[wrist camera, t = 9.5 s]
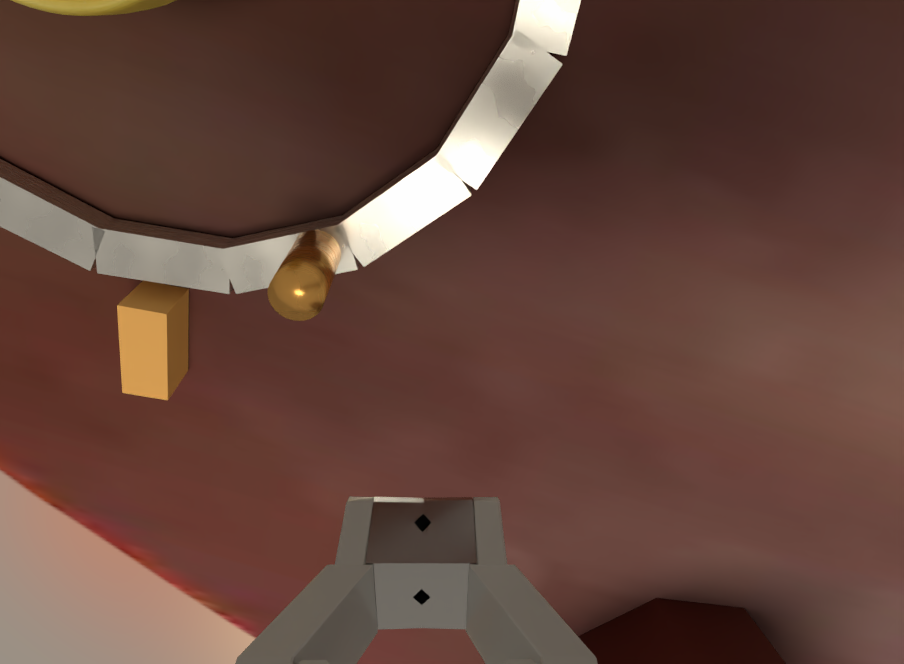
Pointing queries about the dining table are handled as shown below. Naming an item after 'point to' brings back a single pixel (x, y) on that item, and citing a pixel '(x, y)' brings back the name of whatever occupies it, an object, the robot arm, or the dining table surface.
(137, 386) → the pointer block
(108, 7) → the plant pot
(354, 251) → the ring
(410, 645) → the dining table surface
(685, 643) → the bucket
